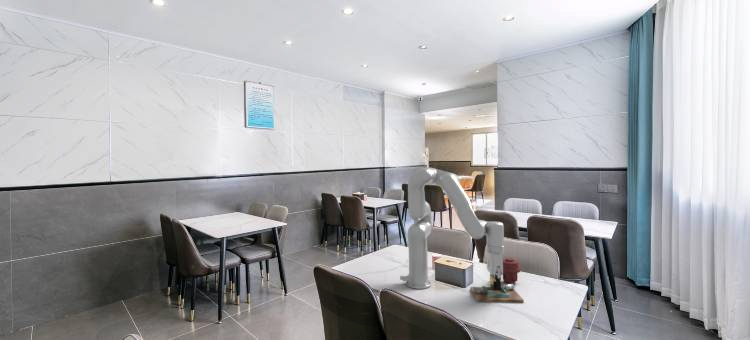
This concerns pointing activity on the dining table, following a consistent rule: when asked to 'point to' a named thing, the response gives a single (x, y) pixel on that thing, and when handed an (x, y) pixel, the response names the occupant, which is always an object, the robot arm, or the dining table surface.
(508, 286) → the shaft
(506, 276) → the mechanical component
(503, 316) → the dining table surface
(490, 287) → the cylinder
